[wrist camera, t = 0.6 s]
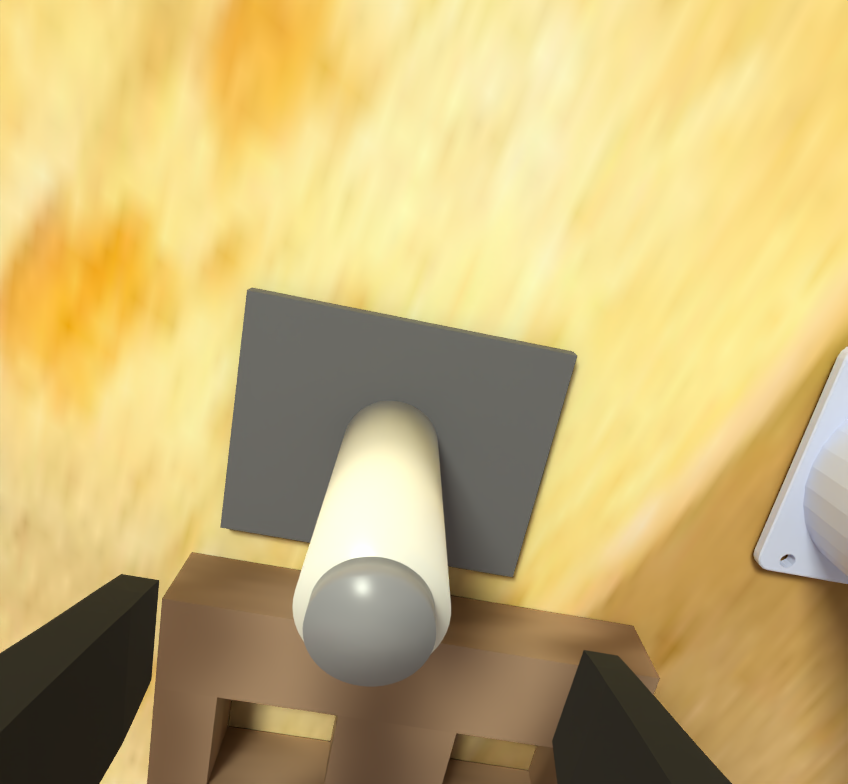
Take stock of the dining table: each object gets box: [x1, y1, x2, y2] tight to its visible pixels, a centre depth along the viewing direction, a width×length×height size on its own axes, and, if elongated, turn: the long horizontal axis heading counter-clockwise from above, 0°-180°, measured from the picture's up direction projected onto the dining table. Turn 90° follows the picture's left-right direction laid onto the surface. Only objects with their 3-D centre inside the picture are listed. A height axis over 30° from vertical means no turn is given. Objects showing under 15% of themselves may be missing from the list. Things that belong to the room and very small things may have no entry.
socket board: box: [147, 552, 660, 784], centre depth 21 cm, size 16×11×3 cm
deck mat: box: [221, 288, 577, 577], centre depth 19 cm, size 10×8×1 cm
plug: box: [293, 401, 451, 687], centre depth 15 cm, size 3×3×9 cm
